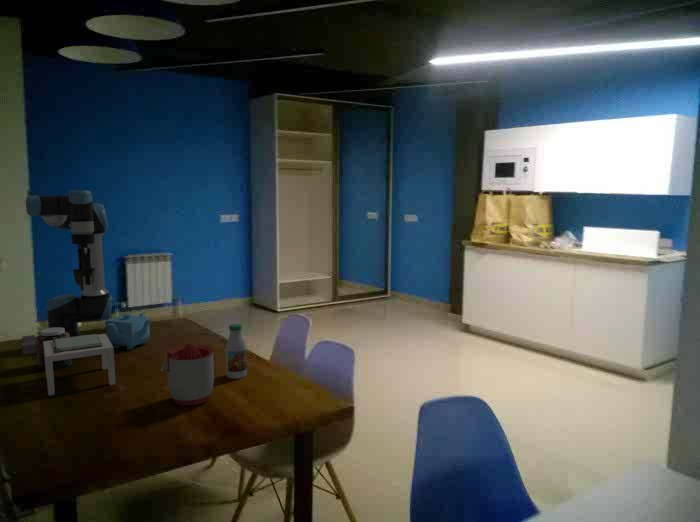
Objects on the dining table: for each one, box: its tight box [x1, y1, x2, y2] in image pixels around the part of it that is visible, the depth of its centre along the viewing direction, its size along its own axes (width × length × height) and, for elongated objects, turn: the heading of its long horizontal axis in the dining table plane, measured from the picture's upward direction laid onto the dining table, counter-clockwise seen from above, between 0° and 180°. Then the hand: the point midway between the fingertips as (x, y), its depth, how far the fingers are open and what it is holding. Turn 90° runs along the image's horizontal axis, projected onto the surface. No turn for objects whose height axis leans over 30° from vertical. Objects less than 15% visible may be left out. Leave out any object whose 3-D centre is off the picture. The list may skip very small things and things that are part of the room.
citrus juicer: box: [160, 343, 215, 407], centre depth 181 cm, size 16×17×20 cm
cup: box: [72, 267, 95, 291], centre depth 200 cm, size 8×7×8 cm
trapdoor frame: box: [43, 333, 117, 396], centre depth 200 cm, size 22×22×16 cm
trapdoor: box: [21, 333, 101, 355], centre depth 196 cm, size 24×14×4 cm, turn 121°
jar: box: [35, 327, 73, 371], centre depth 216 cm, size 12×12×15 cm
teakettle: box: [104, 311, 153, 350], centre depth 244 cm, size 19×19×15 cm
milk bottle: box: [225, 323, 248, 380], centre depth 205 cm, size 8×8×20 cm
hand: (86, 290), depth 198 cm, fingers open, 13 cm apart
